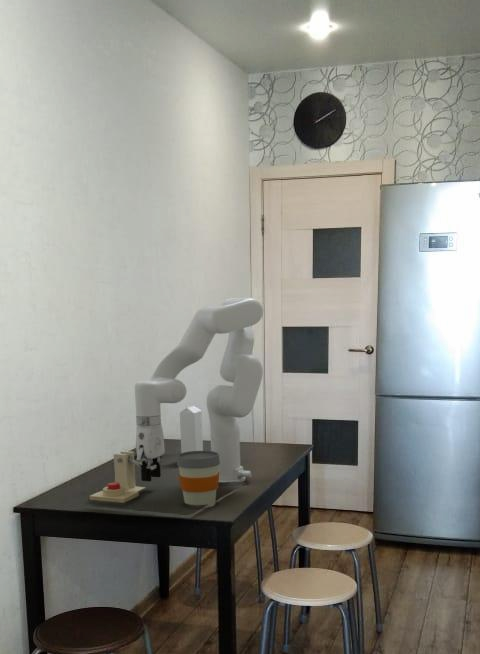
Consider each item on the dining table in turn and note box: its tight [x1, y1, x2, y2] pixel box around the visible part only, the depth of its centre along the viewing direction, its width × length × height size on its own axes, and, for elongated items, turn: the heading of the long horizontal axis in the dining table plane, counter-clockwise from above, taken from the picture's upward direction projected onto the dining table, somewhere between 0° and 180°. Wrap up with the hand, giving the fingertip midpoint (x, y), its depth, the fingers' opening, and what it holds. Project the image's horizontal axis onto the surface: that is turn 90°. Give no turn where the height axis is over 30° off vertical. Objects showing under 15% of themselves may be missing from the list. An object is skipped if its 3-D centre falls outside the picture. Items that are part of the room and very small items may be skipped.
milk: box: [179, 401, 204, 454], centre depth 309 cm, size 6×6×22 cm
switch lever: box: [122, 453, 157, 471], centre depth 265 cm, size 12×5×2 cm, turn 67°
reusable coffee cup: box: [176, 450, 220, 509], centre depth 250 cm, size 13×13×15 cm
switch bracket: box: [113, 450, 147, 492], centre depth 267 cm, size 10×8×13 cm
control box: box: [89, 486, 140, 504], centre depth 258 cm, size 12×9×4 cm
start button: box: [107, 481, 120, 490], centre depth 258 cm, size 4×4×2 cm
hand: (151, 478), depth 264 cm, fingers closed on switch lever, 5 cm apart
